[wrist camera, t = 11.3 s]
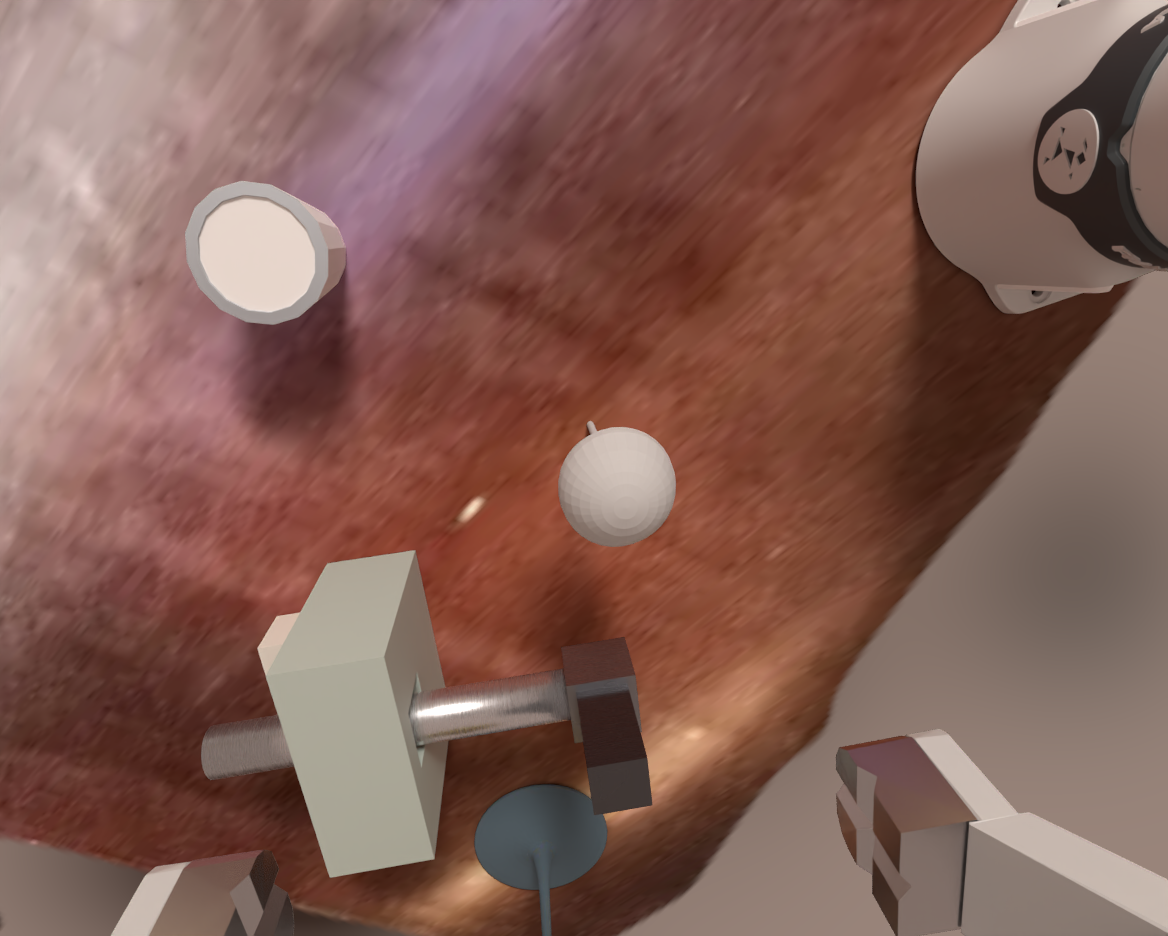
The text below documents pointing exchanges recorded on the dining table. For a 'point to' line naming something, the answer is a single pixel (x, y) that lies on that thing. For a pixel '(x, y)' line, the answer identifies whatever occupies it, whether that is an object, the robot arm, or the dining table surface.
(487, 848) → the cocktail glass
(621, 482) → the lollipop
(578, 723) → the hammer
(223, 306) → the white cup
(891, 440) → the dining table surface
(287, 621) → the block
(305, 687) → the grey slotted block
